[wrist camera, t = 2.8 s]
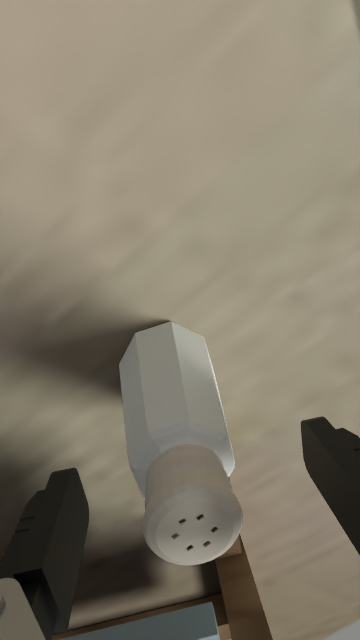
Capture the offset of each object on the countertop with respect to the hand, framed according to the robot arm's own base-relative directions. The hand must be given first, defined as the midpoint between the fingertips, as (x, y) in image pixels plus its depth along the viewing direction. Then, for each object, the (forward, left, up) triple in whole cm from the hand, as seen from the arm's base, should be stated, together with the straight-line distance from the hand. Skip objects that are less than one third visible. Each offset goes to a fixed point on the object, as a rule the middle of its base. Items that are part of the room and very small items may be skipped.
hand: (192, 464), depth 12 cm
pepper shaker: (0, 0, -8) cm, 8 cm away
